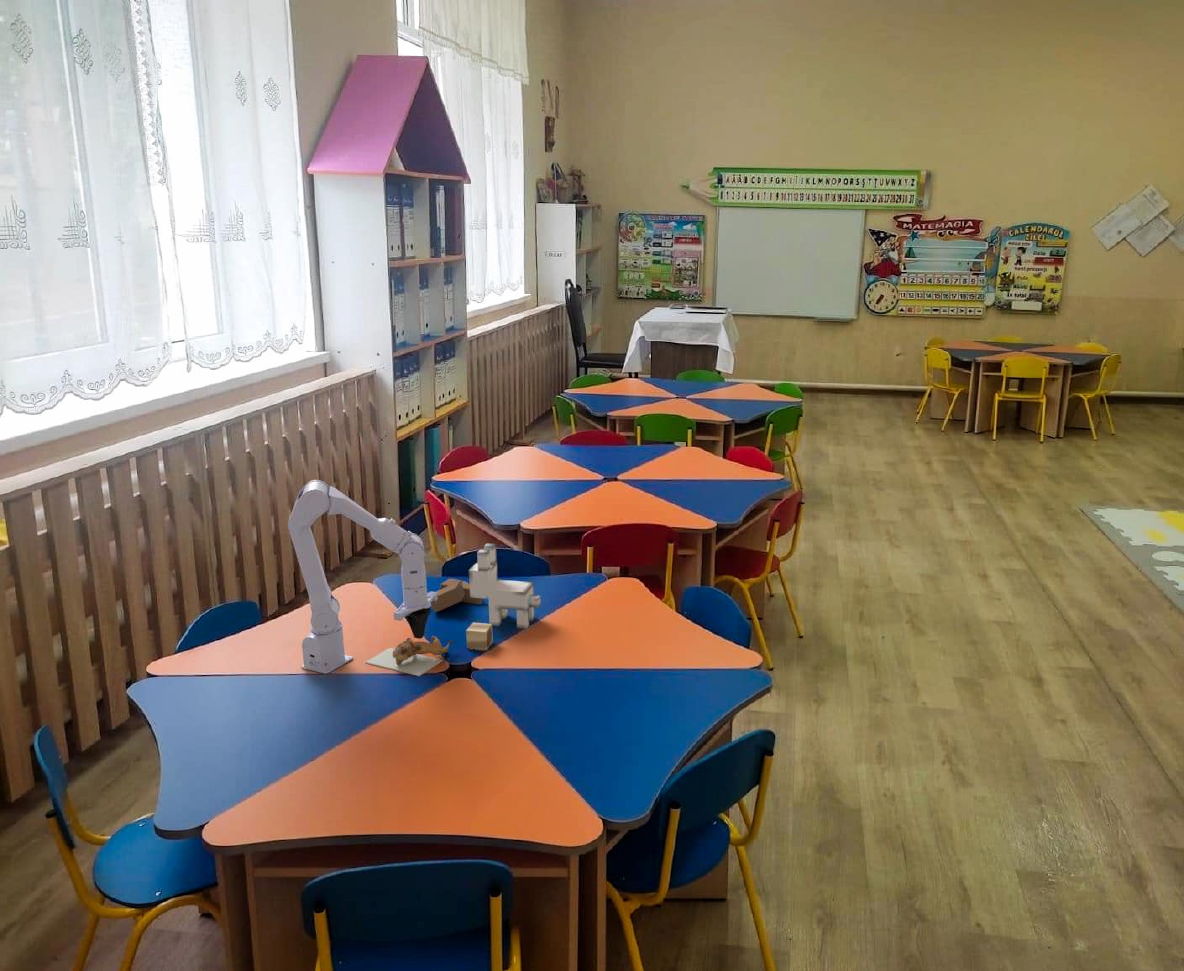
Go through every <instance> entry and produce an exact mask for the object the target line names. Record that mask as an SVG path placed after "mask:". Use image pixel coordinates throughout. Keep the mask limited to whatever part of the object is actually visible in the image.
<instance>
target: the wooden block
mask: <svg viewBox="0 0 1184 971" xmlns="http://www.w3.org/2000/svg"><path fill="white" fill-rule="evenodd" d="M435 592H436V593H437V599H438V600H436V601H432V602H430V603H431V607H432V610H433V612H434V613H438V612H441V611H442V610H444V609H447V608H449V607H452V606H453V605H457V604H458V603H460V602H463V603H468V604H473V605H474V604H475V605H483V598H472V597H470V582H469V583H468V581H465V580H464V581H463V579H462V580H461V579H456V578H448V579H446V580H445V581H443V582H442V583H440V586H439V590H437V591H435Z"/></svg>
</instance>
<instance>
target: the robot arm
mask: <svg viewBox="0 0 1184 971" xmlns="http://www.w3.org/2000/svg"><path fill="white" fill-rule="evenodd" d="M327 511H328V514H327V515H328V516H332V515H340V514H341V515H343V516H344V517H346V518H348V519H350V520H351V521H353V522H355V523H356V524H358V525H360V526H361V527H363V528H366V529H367V530H369V531H370V536H371V537H370V538H371V539H373V540H374V541H376V542H377V543H379V544H380V545H382V546H384V547H385V548H387V549H388V550H390V551H392V552H393V553H396V554H399V555H398V556H399V559H400V560H401V568H400V574H401V575H400V576H401V585H402V597H403V602H402V603H401V605H400V606H399V607H398V608H397V609H396V610H395V611H393V619H394V620H395V621H398V622H402V621H403V620H404V619H405V620H406V622H407V624H408V625H409V627H410V630H411V632H412V635H413V638H415V639H419V640H421V639H423V638H424V635H425V629H426V626H427V620H428V618H429V616H430V614H431V612H432V610H431V608H430V607H432V606H431V603H430V602H432V601H436V600H438V599H437V593H436V591H429V592H428V588H427V586H428V584H427V574H426V573H427V572H426V566H425V556H426V551H425V547H424V542H423V540H422V538H421V537H420V536H419V535H418V534H417V533H413V532H411V531H410V530H408V531H407V530H406V529H404V528H403V527H401V526H399V525H398V524H396V520H395V519H393V518H390V519H388V517H380V518H378V517H376V516H374V515H373V514H372V513H370V512H369V511H367V510H366V509H365V508H364V507H362V506H360V505H359V504H358V503H356V502H355V501H354V500H352V499H351V498H350V497H349V496H347V495H345V494H344V493H342V492H341V491H340V490H338V488H335V487H333V486H332V485H331V486H329V485H328V483H326V482H325V481H322V480H319V479H312V480H310V481H308V482H307V483H306V484H305V485H304V486H303V487H302V489H301V490H299V492H298V494H297V497H296V500H295V501H294V505H293V508H292V511H291V513H290V515H289V518H288V522H287V529H288V532H289V535H290V539H291V541H292V544H293V548H294V551H295V555H296V558H297V562H298V563H299V564H298V565H299V567H300V570H301V574H302V577H303V581H304V583H305V587H306V591H307V593H308V600H309V608H310V611H311V617H310V625H311V626H310V632H309V633H308V635H307V636H306V637H304V639H303V640H302V644H301V647H302V658H303V664H302V665H301V668H302V669H305V670H309V671H313V672H317V673H321V674H329V673H331V672H334V670H336V669H338V668H339V667H341V666H343V665H345V664H347V663H348V662H351V661H352V660H353V659H354V657H353V656H351V655H347V654H346V653H345V642H344V631H343V623H342V622H341V620H340V619H339V618H340V617H339V612H340V606H341V605H340V602H339V600H338V598H336V597H335V596H334V595H333V593H332V589H331V588H330V586H329V583H328V580H327V578H326V575H325V571H324V568H323V565H322V560H321V557H320V553H319V550H318V547H317V544H316V540H315V538H314V533H313V531H312V525H313V524H314V522H315V521H316V520H317V519H319V517H321V516H323V515H324V514H325V513H326V512H327Z"/></svg>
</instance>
